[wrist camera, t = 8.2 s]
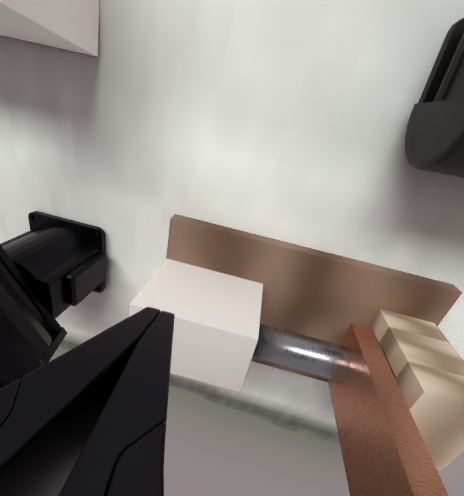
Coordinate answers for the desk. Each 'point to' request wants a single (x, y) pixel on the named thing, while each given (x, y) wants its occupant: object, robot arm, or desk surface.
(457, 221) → the desk surface
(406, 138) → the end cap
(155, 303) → the white rectangular block
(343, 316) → the base board
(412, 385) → the socket block
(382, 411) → the brushed copper slab
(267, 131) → the desk surface
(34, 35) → the white box
